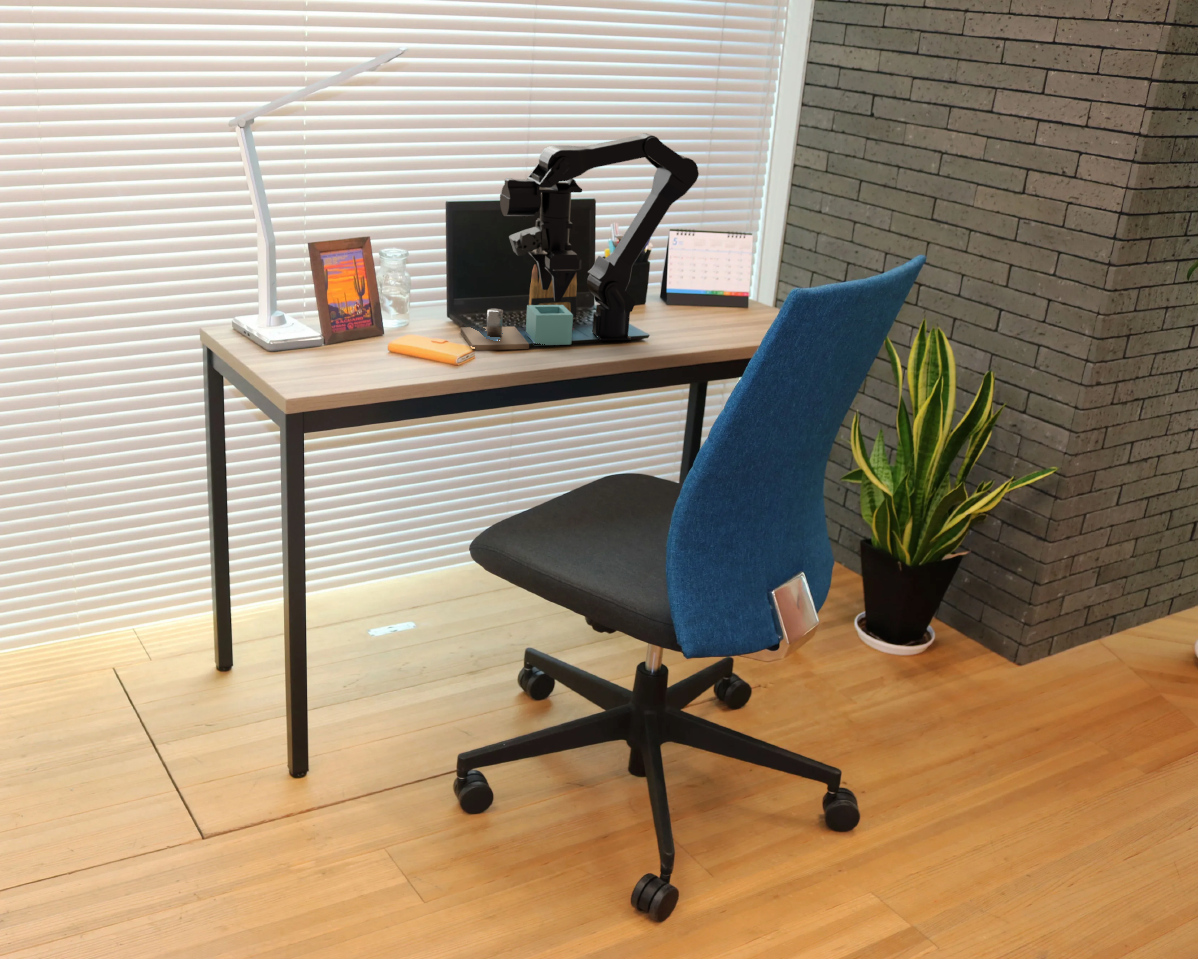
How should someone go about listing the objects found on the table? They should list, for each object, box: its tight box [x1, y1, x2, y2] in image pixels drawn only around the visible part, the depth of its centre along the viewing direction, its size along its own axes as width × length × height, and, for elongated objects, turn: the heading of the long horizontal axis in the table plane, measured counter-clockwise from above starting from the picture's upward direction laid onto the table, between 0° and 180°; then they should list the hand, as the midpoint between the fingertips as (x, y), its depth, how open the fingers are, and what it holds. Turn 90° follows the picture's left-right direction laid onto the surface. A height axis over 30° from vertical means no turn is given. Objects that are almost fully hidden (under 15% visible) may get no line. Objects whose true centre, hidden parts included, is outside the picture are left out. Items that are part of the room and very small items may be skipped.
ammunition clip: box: [527, 263, 578, 317], centre depth 240 cm, size 11×2×12 cm, turn 115°
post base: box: [460, 308, 530, 351], centre depth 224 cm, size 11×12×6 cm
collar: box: [525, 304, 574, 346], centre depth 227 cm, size 7×7×6 cm
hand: (551, 295), depth 225 cm, fingers open, 9 cm apart
